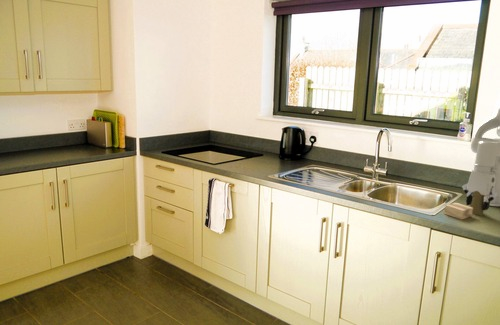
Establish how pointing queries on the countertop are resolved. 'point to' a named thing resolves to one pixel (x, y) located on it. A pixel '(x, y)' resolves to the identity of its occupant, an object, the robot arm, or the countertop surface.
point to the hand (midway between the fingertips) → (476, 206)
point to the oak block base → (458, 210)
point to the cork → (477, 203)
